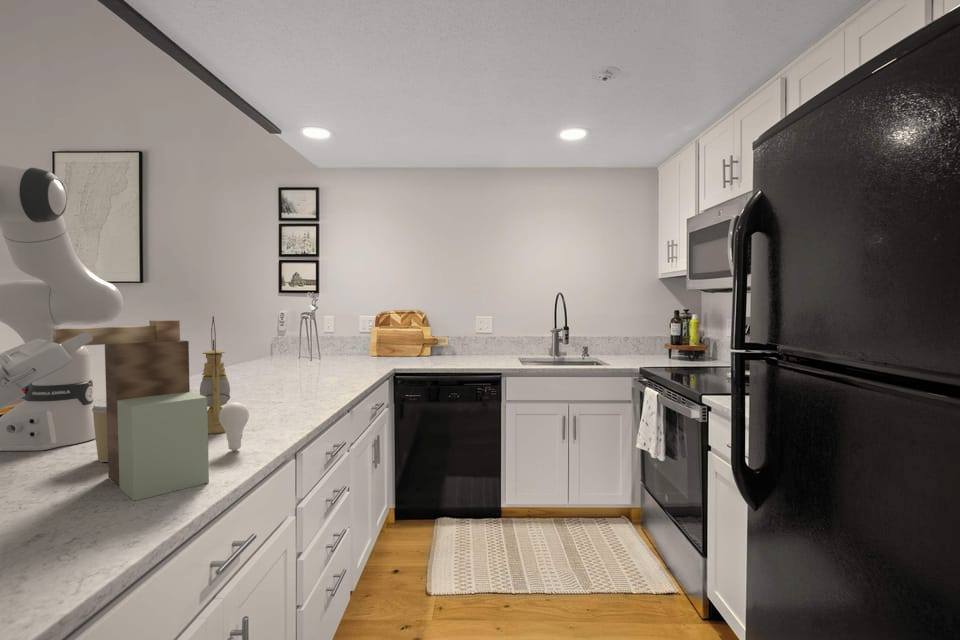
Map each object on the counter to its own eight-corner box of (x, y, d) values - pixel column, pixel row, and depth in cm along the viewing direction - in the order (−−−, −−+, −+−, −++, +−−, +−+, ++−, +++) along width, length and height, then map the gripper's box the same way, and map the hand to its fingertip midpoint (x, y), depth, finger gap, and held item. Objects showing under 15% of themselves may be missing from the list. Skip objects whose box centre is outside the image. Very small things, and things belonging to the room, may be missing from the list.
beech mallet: (57, 347, 89) (56, 323, 89) (52, 345, 92) (51, 323, 92) (180, 340, 103) (179, 320, 103) (172, 339, 106) (171, 320, 106)
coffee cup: (140, 449, 119) (139, 397, 119) (150, 457, 113) (149, 402, 112) (89, 457, 113) (88, 402, 112) (97, 467, 106) (95, 408, 106)
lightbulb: (237, 455, 114) (236, 405, 114) (213, 454, 115) (212, 404, 115) (255, 447, 120) (254, 400, 120) (231, 446, 121) (230, 399, 121)
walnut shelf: (119, 488, 94) (115, 344, 93) (108, 478, 100) (104, 342, 99) (191, 471, 103) (188, 340, 102) (177, 463, 109) (174, 339, 108)
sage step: (133, 500, 88) (131, 407, 88) (119, 488, 94) (117, 400, 94) (208, 482, 97) (207, 397, 96) (191, 472, 103) (189, 391, 103)
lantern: (192, 427, 140) (189, 315, 139) (232, 423, 145) (230, 315, 144) (194, 437, 129) (191, 316, 128) (237, 432, 134) (235, 316, 133)
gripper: (-14, 369, 76) (86, 320, 85) (-25, 359, 90) (62, 318, 99) (16, 403, 79) (110, 352, 88) (1, 388, 93) (83, 345, 101)
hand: (84, 334), depth 93 cm, fingers open, 7 cm apart
